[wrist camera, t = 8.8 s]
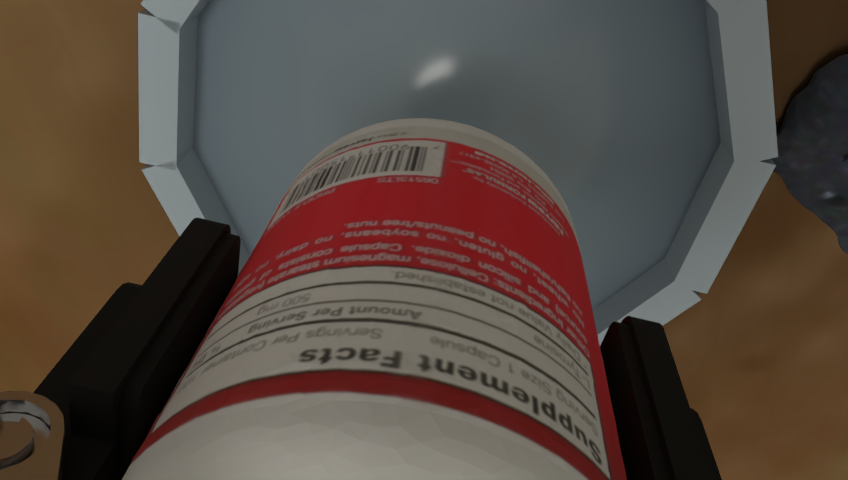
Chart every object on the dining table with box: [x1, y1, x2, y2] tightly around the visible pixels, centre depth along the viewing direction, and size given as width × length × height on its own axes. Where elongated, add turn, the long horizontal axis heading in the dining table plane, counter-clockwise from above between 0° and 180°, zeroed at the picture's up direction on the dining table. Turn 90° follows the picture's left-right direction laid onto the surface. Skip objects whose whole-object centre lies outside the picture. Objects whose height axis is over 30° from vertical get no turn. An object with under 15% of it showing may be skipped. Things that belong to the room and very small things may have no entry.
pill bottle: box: [122, 118, 627, 480], centre depth 10 cm, size 6×6×11 cm
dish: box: [138, 0, 778, 345], centre depth 19 cm, size 16×16×2 cm
